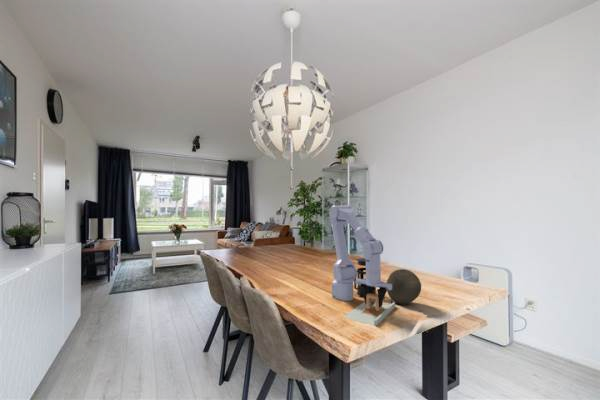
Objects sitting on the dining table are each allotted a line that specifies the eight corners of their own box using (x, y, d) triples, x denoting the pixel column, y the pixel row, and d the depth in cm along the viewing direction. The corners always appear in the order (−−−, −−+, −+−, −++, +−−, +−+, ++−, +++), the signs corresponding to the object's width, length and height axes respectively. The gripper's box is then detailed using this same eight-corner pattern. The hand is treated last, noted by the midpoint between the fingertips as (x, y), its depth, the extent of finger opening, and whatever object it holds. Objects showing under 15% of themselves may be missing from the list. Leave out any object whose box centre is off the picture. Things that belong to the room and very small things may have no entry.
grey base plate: (343, 320, 103) (343, 312, 103) (365, 303, 120) (365, 296, 121) (376, 329, 95) (376, 320, 95) (395, 309, 113) (395, 302, 113)
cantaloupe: (390, 309, 114) (389, 273, 114) (384, 297, 127) (384, 266, 128) (425, 310, 112) (424, 274, 112) (415, 299, 126) (415, 266, 126)
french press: (370, 290, 139) (370, 245, 140) (381, 295, 130) (380, 248, 131) (350, 292, 136) (349, 246, 136) (359, 298, 127) (359, 249, 127)
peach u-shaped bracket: (366, 308, 108) (366, 294, 109) (368, 306, 110) (368, 293, 111) (378, 310, 106) (378, 297, 106) (380, 309, 107) (380, 295, 108)
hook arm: (368, 317, 105) (367, 301, 105) (377, 308, 114) (377, 293, 114) (371, 318, 104) (371, 302, 104) (381, 309, 113) (381, 294, 113)
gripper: (352, 270, 109) (352, 303, 109) (387, 275, 101) (388, 311, 101) (359, 267, 115) (359, 299, 115) (393, 271, 107) (394, 306, 106)
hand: (373, 304), depth 108 cm, fingers closed on peach u-shaped bracket, 5 cm apart
